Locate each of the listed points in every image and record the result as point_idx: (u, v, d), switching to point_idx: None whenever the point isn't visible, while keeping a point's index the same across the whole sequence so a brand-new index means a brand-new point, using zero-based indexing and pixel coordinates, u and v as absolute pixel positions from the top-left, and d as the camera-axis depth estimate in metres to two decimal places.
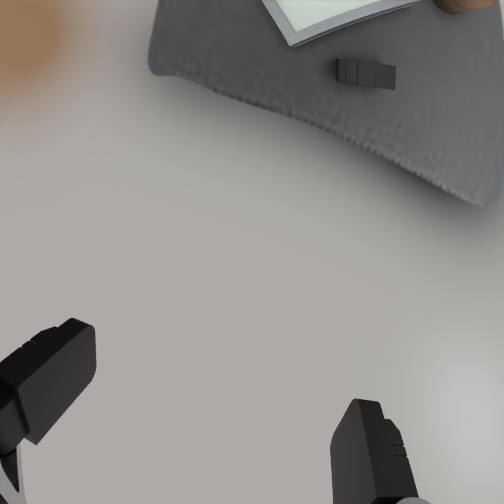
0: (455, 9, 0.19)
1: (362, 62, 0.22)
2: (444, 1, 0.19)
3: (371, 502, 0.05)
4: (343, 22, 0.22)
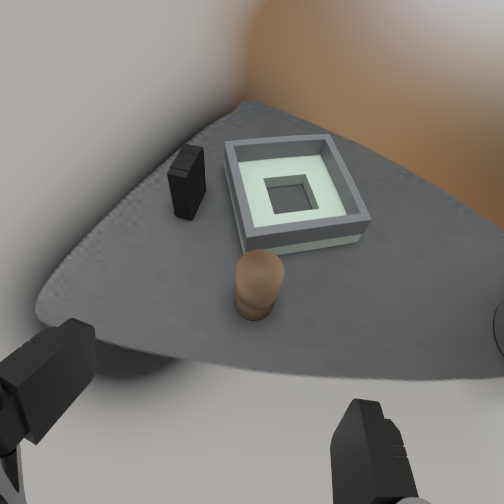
0: None
1: (195, 157, 0.33)
2: None
3: (371, 502, 0.05)
4: (232, 173, 0.36)
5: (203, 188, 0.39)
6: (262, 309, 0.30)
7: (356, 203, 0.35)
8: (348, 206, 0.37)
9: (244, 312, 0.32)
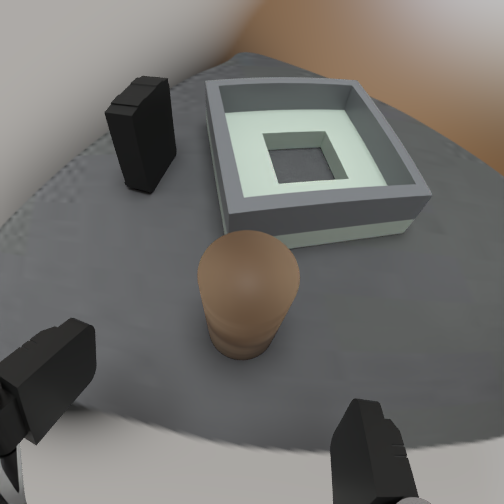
0: None
1: (152, 89, 0.19)
2: None
3: (371, 502, 0.05)
4: (213, 118, 0.22)
5: (172, 148, 0.25)
6: (255, 346, 0.16)
7: (408, 169, 0.21)
8: (392, 176, 0.23)
9: (222, 347, 0.17)
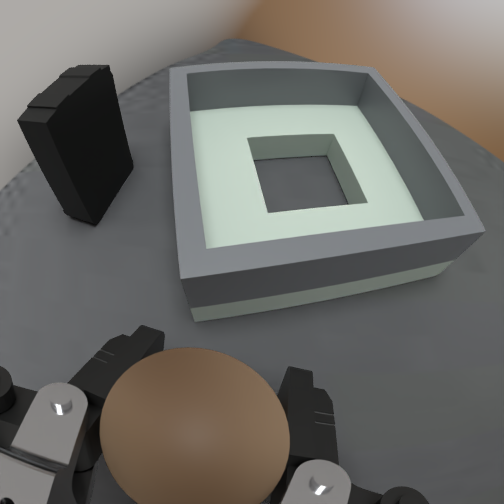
0: None
1: (83, 81, 0.12)
2: None
3: None
4: (172, 118, 0.15)
5: (125, 161, 0.18)
6: None
7: (452, 193, 0.14)
8: (428, 200, 0.16)
9: None
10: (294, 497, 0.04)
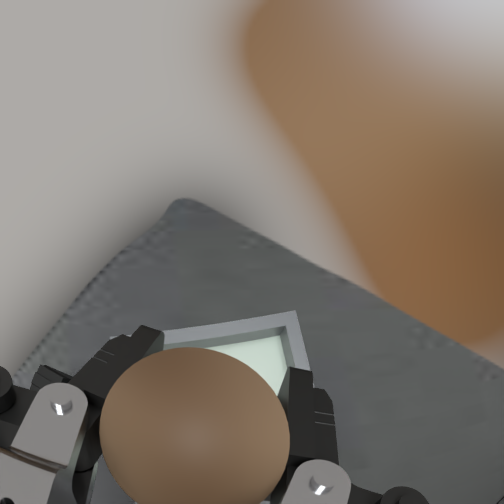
0: None
1: None
2: None
3: None
4: None
5: None
6: None
7: None
8: None
9: None
10: (294, 497, 0.04)
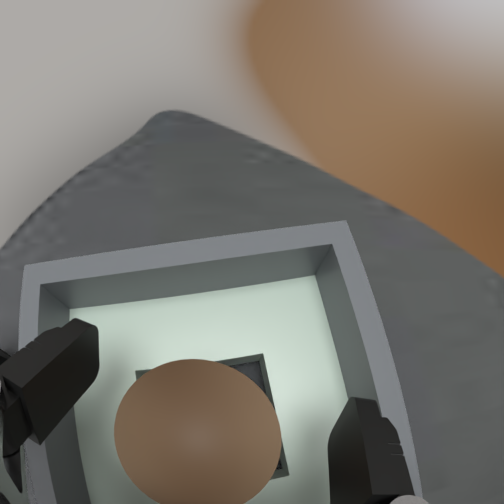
0: None
1: None
2: None
3: (367, 500, 0.05)
4: None
5: None
6: None
7: None
8: None
9: None
10: None
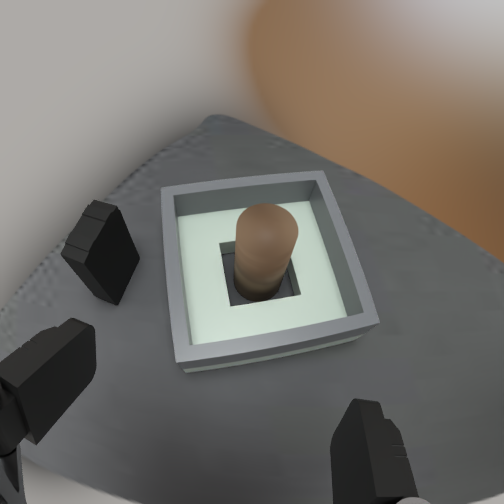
0: None
1: (101, 225, 0.20)
2: None
3: (371, 502, 0.05)
4: (165, 245, 0.23)
5: (134, 257, 0.27)
6: (269, 283, 0.24)
7: (358, 294, 0.22)
8: (346, 292, 0.24)
9: (245, 289, 0.25)
10: None
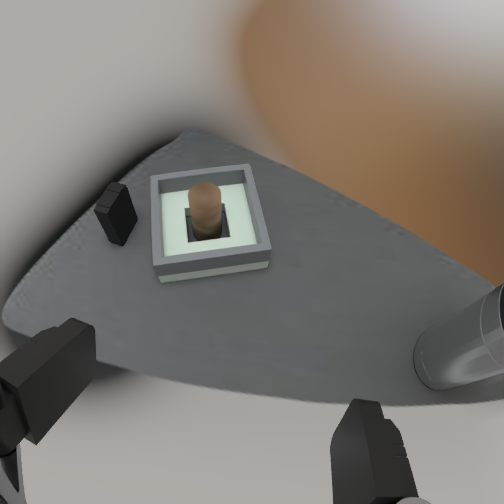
0: None
1: (117, 195, 0.37)
2: None
3: (371, 502, 0.05)
4: (151, 206, 0.40)
5: (134, 218, 0.44)
6: (209, 228, 0.41)
7: (260, 233, 0.39)
8: (256, 235, 0.41)
9: (197, 233, 0.42)
10: None
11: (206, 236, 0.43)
